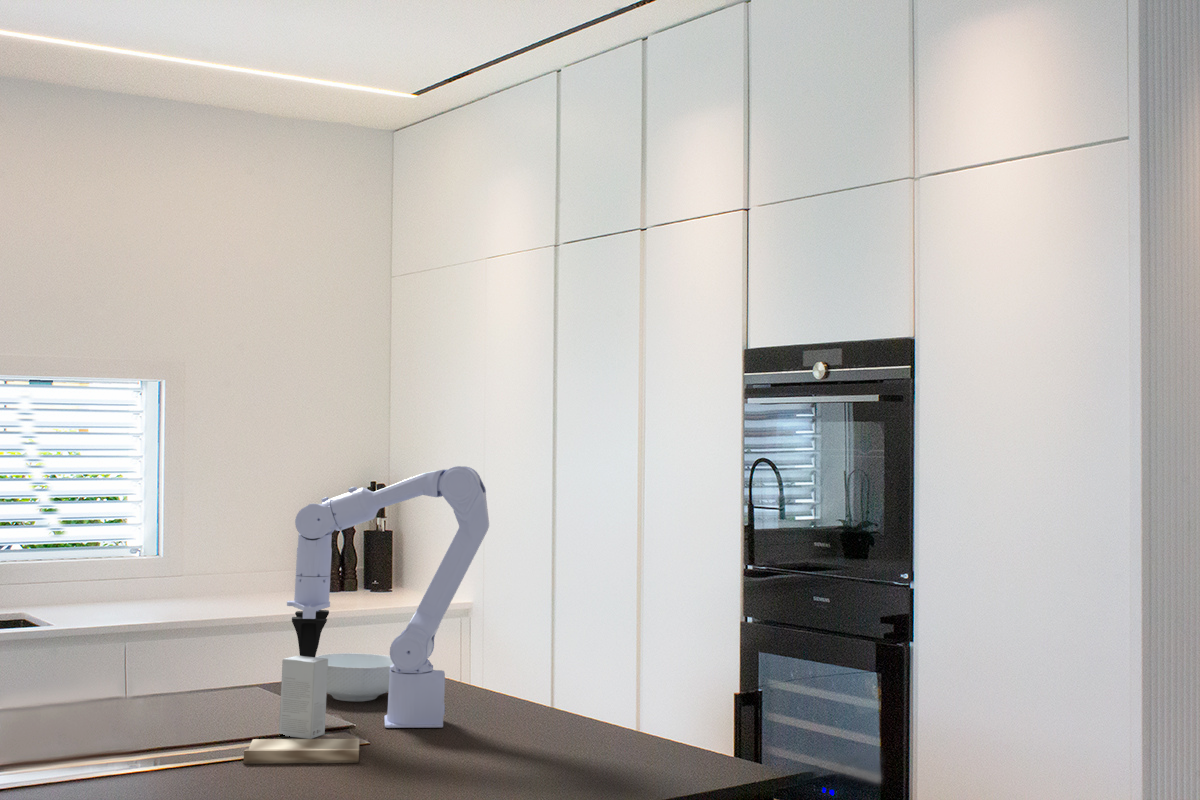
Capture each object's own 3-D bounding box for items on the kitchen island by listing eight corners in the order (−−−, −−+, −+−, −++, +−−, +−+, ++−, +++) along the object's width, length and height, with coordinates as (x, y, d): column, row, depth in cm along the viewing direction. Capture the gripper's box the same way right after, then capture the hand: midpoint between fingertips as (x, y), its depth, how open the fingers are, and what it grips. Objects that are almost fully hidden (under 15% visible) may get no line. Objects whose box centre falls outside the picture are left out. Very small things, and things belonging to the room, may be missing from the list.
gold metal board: (359, 741, 180) (359, 729, 180) (358, 762, 167) (359, 750, 167) (252, 741, 176) (253, 729, 177) (243, 763, 164) (244, 750, 164)
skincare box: (325, 734, 183) (329, 658, 184) (310, 740, 179) (314, 662, 180) (292, 730, 185) (297, 654, 186) (277, 735, 181) (281, 658, 182)
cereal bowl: (391, 709, 205) (393, 668, 205) (298, 704, 205) (300, 664, 205) (408, 690, 221) (410, 653, 222) (322, 687, 222) (324, 649, 222)
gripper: (291, 570, 201) (287, 649, 200) (285, 579, 187) (280, 664, 186) (332, 571, 202) (328, 650, 201) (330, 580, 188) (325, 664, 187)
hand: (308, 657), depth 194 cm, fingers open, 7 cm apart
